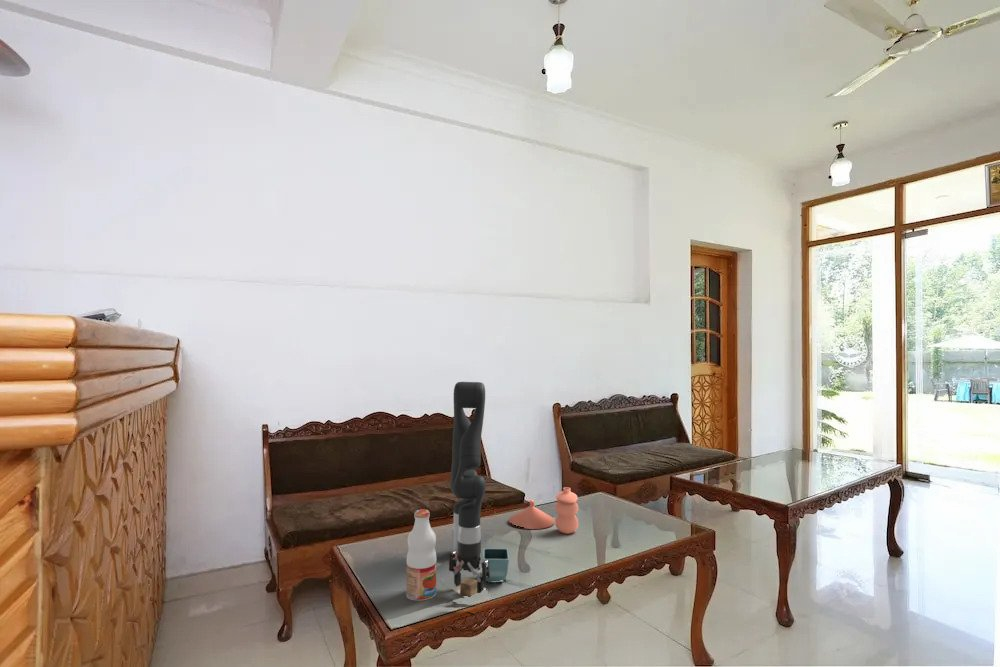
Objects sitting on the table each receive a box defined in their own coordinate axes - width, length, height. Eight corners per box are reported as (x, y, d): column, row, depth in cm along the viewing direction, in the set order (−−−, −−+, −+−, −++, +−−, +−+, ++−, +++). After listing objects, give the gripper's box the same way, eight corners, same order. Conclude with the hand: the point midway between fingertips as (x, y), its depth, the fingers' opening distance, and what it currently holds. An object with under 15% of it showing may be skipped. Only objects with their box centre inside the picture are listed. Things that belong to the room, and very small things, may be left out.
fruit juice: (412, 591, 162) (412, 506, 162) (439, 593, 161) (440, 507, 161) (401, 606, 153) (402, 516, 153) (431, 609, 151) (431, 517, 152)
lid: (440, 600, 156) (440, 584, 156) (463, 583, 167) (463, 568, 167) (474, 612, 149) (474, 595, 149) (496, 593, 160) (496, 578, 160)
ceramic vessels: (499, 520, 226) (499, 479, 227) (528, 509, 242) (528, 470, 242) (562, 542, 203) (562, 496, 203) (589, 527, 218) (589, 485, 218)
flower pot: (507, 573, 175) (507, 548, 175) (508, 585, 166) (509, 559, 166) (483, 573, 175) (483, 548, 175) (482, 586, 166) (483, 559, 166)
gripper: (444, 537, 159) (444, 588, 158) (481, 547, 151) (481, 600, 151) (458, 529, 165) (457, 578, 165) (494, 538, 158) (493, 589, 158)
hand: (468, 588), depth 158 cm, fingers open, 8 cm apart
